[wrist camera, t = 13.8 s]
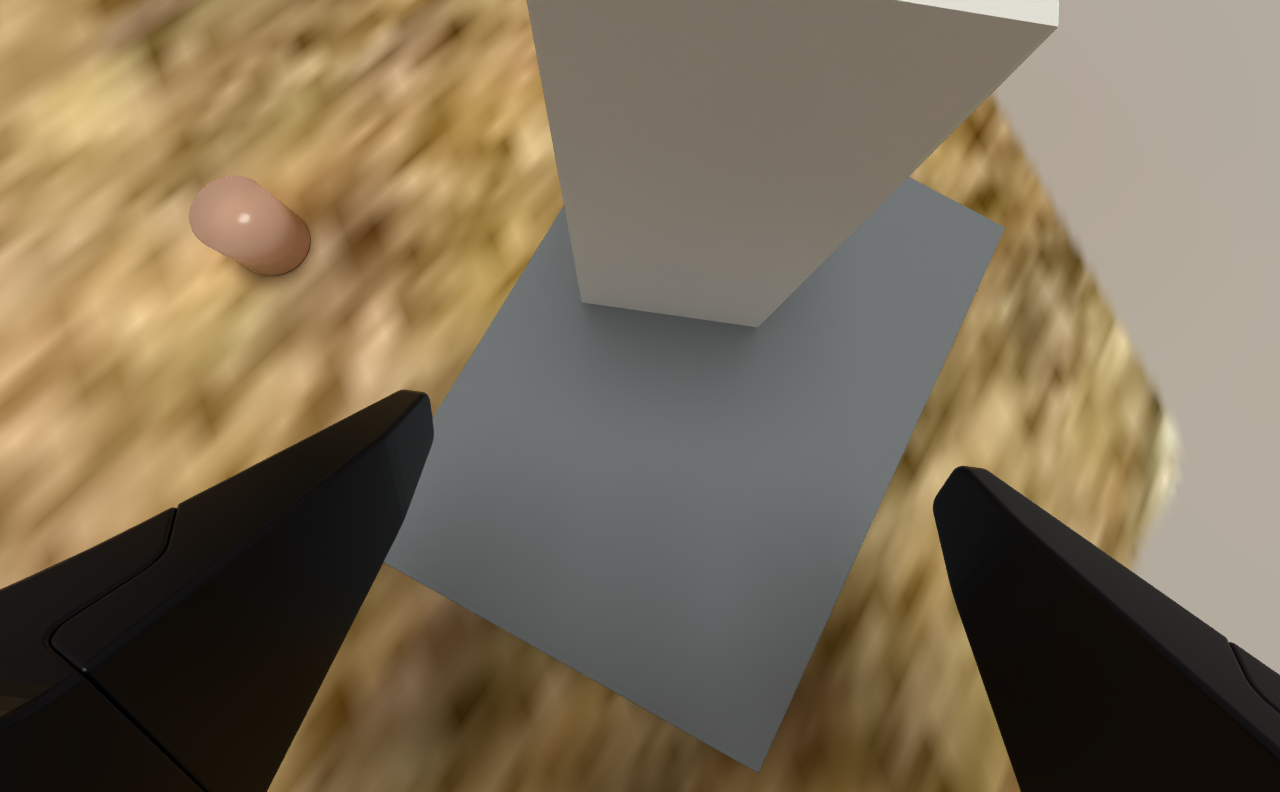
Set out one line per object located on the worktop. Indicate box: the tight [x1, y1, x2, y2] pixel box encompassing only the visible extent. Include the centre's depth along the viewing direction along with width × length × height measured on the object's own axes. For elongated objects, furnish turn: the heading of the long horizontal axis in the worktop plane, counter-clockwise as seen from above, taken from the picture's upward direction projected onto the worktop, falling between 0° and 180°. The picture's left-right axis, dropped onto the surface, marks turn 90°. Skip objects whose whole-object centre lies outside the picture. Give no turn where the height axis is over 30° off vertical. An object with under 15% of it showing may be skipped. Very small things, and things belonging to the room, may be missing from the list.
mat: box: [384, 177, 1005, 773], centre depth 17 cm, size 20×14×1 cm
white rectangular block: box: [527, 0, 1059, 327], centre depth 12 cm, size 6×6×12 cm
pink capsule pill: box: [189, 176, 310, 276], centre depth 17 cm, size 2×2×2 cm
